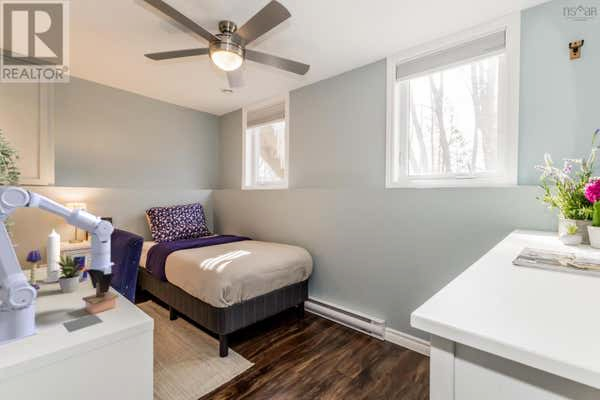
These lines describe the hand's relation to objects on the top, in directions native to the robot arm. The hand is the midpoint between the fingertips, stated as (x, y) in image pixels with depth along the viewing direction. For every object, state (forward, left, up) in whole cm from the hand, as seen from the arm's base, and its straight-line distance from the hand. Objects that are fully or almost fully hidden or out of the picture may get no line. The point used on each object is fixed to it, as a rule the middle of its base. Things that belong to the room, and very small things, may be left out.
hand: (100, 289), depth 96 cm
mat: (-7, -8, -7) cm, 13 cm away
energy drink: (+5, +46, -7) cm, 47 cm away
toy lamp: (-11, +46, -7) cm, 48 cm away
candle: (-3, +55, -7) cm, 56 cm away
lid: (0, 0, -3) cm, 3 cm away
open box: (0, 0, -7) cm, 7 cm away
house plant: (-3, +33, -7) cm, 34 cm away
